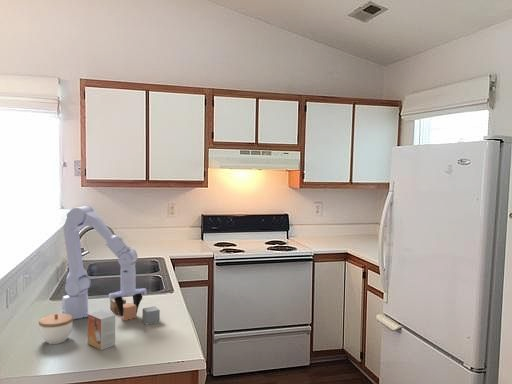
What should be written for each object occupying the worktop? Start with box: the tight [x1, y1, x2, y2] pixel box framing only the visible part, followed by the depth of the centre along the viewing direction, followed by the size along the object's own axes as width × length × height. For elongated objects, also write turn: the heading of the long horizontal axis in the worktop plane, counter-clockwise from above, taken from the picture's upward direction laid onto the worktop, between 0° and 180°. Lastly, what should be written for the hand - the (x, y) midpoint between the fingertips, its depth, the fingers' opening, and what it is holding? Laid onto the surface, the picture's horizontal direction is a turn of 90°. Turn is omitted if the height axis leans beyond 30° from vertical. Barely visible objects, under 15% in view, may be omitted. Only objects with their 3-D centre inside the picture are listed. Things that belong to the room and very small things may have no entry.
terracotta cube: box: [119, 302, 138, 321], centre depth 173 cm, size 5×5×5 cm
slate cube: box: [142, 306, 161, 325], centre depth 169 cm, size 5×5×5 cm
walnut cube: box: [109, 297, 127, 314], centre depth 181 cm, size 5×5×5 cm
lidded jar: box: [38, 313, 74, 345], centre depth 150 cm, size 11×11×9 cm
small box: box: [87, 309, 116, 351], centre depth 147 cm, size 8×6×10 cm
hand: (128, 314), depth 173 cm, fingers closed on terracotta cube, 5 cm apart
